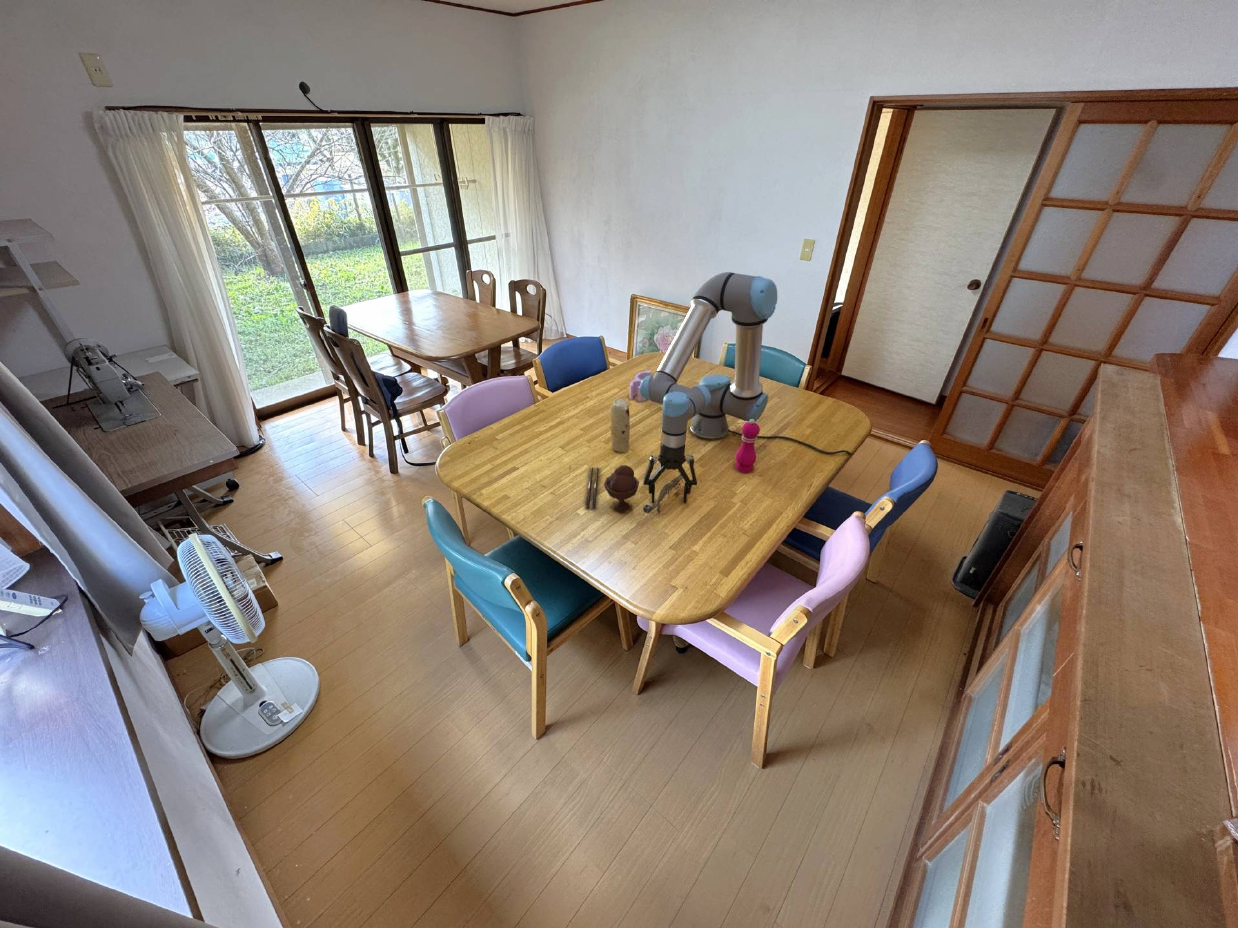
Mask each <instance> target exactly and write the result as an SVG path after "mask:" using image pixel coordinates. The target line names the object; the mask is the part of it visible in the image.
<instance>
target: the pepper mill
mask: <svg viewBox="0 0 1238 928" xmlns="http://www.w3.org/2000/svg"><path fill="white" fill-rule="evenodd" d="M760 432H761V429H760V426H759V424H758V423H756V421H755V420H754V419H751V420H750V421H746V422H744V424H743V425H742V427H741V434H743V435H742V436H741V440H742V442H741V445H740V447H739V448H738V450H737V451H736V454H735V466H734V467H735V469H736V470H737V471H738V472H739V473H742V474H743V473H746V474H748V473H751V472H753V470H754V464H755V463H756V462H757V453H756V450H755V449H756V448H755V444H756V443H755V442H757V439H758V438H757V436H759V434H760Z"/></svg>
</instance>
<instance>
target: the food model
mask: <svg viewBox="0 0 1238 928" xmlns="http://www.w3.org/2000/svg"><path fill="white" fill-rule="evenodd" d="M612 403H613V404H611V406H610V441H611V442H610V443H611V446H612V449H613V450H614V451H615V452H618V453H626V452H628V450H629V444H630V433H631V431H630V429H631V428H630V423H631V422H630V419H631V418H630V405H629V404H628V402H627V401H626V399H623V398H617V397H616V398H615V399H613V402H612Z"/></svg>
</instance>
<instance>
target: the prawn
mask: <svg viewBox="0 0 1238 928" xmlns="http://www.w3.org/2000/svg"><path fill="white" fill-rule="evenodd" d="M681 481H682V482H684V479H683V477H682V475H681V474H680V473H679V474H678V475H676V476H675V477H674V478H672V479H671V480H669V481H664V483H665V482H666V483H665V484H664V485H663V486H662V488H661V490H660V492H659V495H658V497H657V500H656V502H654V503H653V504H652V505H650V504H647V503H646V504H645V505H644V506H643V507H642V512H643V513H645V514H650V513H651V512H652V511H655V510H656V513H657V514H659V515H661V511H662V510H661V509H662V507H661V502H662V501H663V500H664V498H665V497H666V496H667V502H668V501H669V499H670V495H671V493H672V491H673V489H675V490H676V491H677V492H676V494H678V492H679V490H678V488H679V489H680V488H681V489H680V490H681V492H682V491H684V485H683V484H684V483H682V487H681Z"/></svg>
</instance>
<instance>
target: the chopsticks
mask: <svg viewBox="0 0 1238 928" xmlns="http://www.w3.org/2000/svg"><path fill="white" fill-rule="evenodd" d="M593 474H594V468H593V467H590V471H589V480H588V488H587V494H586V495H587V496H586V504H585V509H587V510H589V509H590V502H591V501H590V500H591V491H592V483H593ZM598 480H599V467H596V468H595V476H594V486H593V497H592V507H591V508H592V510H595V509H596V503H597V491H598V483H599V482H598Z"/></svg>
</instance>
